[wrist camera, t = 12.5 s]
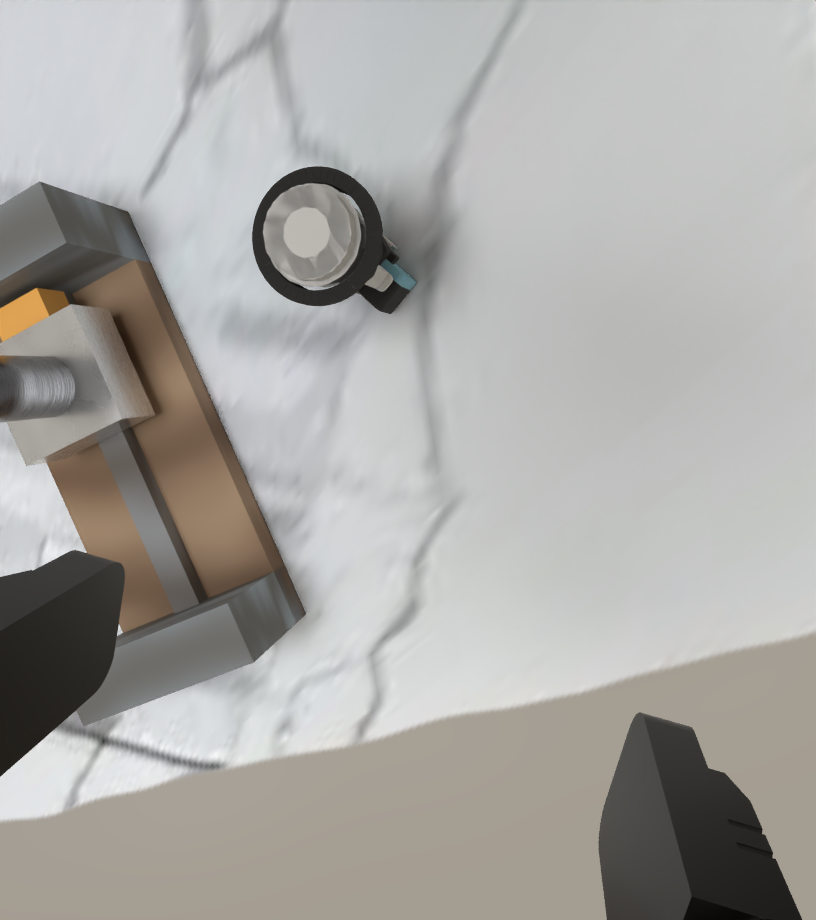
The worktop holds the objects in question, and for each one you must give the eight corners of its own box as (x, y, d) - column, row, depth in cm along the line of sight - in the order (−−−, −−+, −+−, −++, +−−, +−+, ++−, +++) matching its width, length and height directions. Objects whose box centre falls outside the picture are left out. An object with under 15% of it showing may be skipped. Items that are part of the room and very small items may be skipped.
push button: (285, 255, 39) (191, 219, 30) (350, 172, 38) (274, 106, 29) (378, 340, 39) (313, 332, 29) (446, 259, 38) (402, 222, 28)
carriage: (19, 356, 41) (-203, 353, 29) (108, 308, 39) (-89, 284, 28) (65, 458, 41) (-138, 495, 29) (155, 414, 39) (-21, 435, 28)
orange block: (18, 316, 40) (-10, 314, 38) (63, 291, 39) (36, 287, 37) (31, 344, 40) (3, 343, 38) (76, 320, 39) (50, 317, 37)
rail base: (-19, 290, 44) (-128, 276, 37) (125, 206, 41) (36, 175, 34) (153, 672, 44) (77, 728, 37) (306, 614, 42) (253, 662, 35)
